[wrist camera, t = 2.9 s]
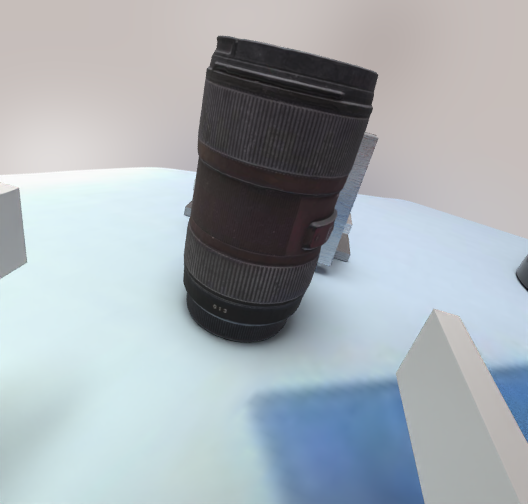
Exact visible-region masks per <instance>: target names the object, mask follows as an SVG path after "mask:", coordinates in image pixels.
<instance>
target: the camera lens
mask: <svg viewBox="0 0 528 504" xmlns="http://www.w3.org/2000/svg"><path fill="white" fill-rule="evenodd" d="M377 78H378V74H377V73H376V72H374V71H371V70H368V69H365V68H363V67H360V66H356V65H352V64H348V63H345V62H341V61H337V60H334V59H330V58H326V57H322V56H319V55H316V54H311V53H307V52H303V51H299V50H294V49H289V48H284V47H279V46H276V45H272V44H268V43H263V42H258V41H252V40H247V39H237V38H234V37H229V36H218V37H217V48H216V50H215V52H214V54H213V55H212V59H211V63H210V66H209V67H208V68H207V72H206V80H205V87H204V95H203V103H202V110H201V117H200V125H199V132H198V133H199V134H198V155H199V160H198V168H197V174H196V180H195V187H194V194H193V201H192V207H191V214H190V219H189V222H188V228H187V235H186V242H185V251H184V280H183V281H184V285H185V288H186V290H187V306H188V310H189V312H190V314H191V316H192V317H193V318H194V320H195V321H196V322H197V323H198V324H199V325H201V326H202V327H203V328H204V329H206V330H207V331H209V332H211V333H213V334H214V335H216V336H219V337H222V338H225V339H228V340H233V341H239V342H253V341H261V340H264V339H267V338H270V337H272V336H274V335H275V334H277V333H278V332H279V331H280V330H281V329H282V328H283V326H284V324H285V323H286V320H287V318H288V317H289V316H291V315H292V314H293V313H294V312H295V311H296V310H297V308H298V307H299V305H300V302H301V300H302V297H303V295H304V293H305V292H306V290H307V288H308V286H309V284H310V282H311V280H312V277H313V274H314V271H315V268H316V265H317V262H318V259H319V255H320V251H321V246H322V245H323V244H325V243H326V242H327V240H328V239H329V237H330V234H331V233H332V231H333V229H334V222H335V219H336V217H337V210H336V209H335V205H336V202H337V199H338V197H339V194H340V191H341V190H342V189H343V187H344V185H345V183H346V181H347V178H348V176H349V173H350V172H351V170H352V167H353V165H354V162H355V159H356V156H357V153H358V150H359V147H360V145H361V142H362V139H363V136H364V133H365V130H366V127H367V124H368V121H369V117H370V114H371V113H372V109H373V107H372V105H371V104H372V101H373V97H374V89H375V85H376V82H377Z"/></svg>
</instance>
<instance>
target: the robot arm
mask: <svg viewBox="0 0 528 504" xmlns="http://www.w3.org/2000/svg"><path fill="white" fill-rule="evenodd" d="M25 263H27V257H26V247H25V238H24V229H23V220H22V211H21V201H20V192H19V188H18V187H14V186H11V185H7V184H4V183H1V182H0V279H1V278H3V277H4V276H6V275H8V274H9V273H11V272H12V271H14V270H16V269H17V268H19V267H21V266H22V265H24V264H25ZM517 276H518V278H519V279H520V281H521V282H522V283H523V284H524V286H525V287H526V288H527V289H528V255H527V256H526V258H525V259H524V260H523V262H522V263H521V265H520V266H519V268H518V269H517ZM396 376H397V381H398V385H399V390H400V394H401V399H402V403H403V408H404V412H405V417H406V421H407V426H408V431H409V435H410V440H411V444H412V449H413V453H414V458H415V462H416V467H417V471H418V476H419V480H420V485H421V489H422V494H423V498H424V503H425V504H528V443H527V441H526V439H525V437H524V436H523V434H522V432H521V430H520V428H519V426H518V424H517V423H516V421H515V419H514V417H513V415H512V413H511V411H510V410H509V408H508V406H507V404H506V402H505V400H504V398H503V397H502V395H501V393H500V391H499V389H498V387H497V385H496V384H495V382H494V380H493V378H492V376H491V374H490V372H489V371H488V369H487V367H486V365H485V363H484V361H483V359H482V358H481V356H480V354H479V352H478V350H477V348H476V346H475V345H474V343H473V341H472V339H471V337H470V335H469V333H468V331H467V330H466V328H465V326H464V324H463V322H462V320H461V318H460V317H459V316H457V315H453V314H450V313H447V312H443V311H440V310H436V309H433V311H432V313H431V314H430V316H429V318H428V319H427V321H426V323H425V324H424V326H423V328H422V330H421V331H420V333H419V335H418V336H417V338H416V340H415V342H414V343H413V345H412V347H411V348H410V350H409V352H408V353H407V355H406V357H405V359H404V360H403V362H402V364H401V365H400V367H399V369H398V370H397V372H396Z"/></svg>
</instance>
